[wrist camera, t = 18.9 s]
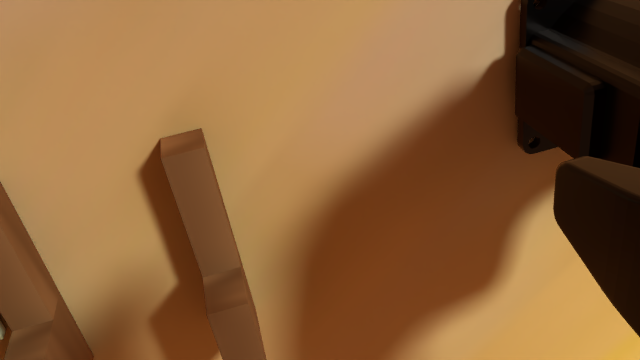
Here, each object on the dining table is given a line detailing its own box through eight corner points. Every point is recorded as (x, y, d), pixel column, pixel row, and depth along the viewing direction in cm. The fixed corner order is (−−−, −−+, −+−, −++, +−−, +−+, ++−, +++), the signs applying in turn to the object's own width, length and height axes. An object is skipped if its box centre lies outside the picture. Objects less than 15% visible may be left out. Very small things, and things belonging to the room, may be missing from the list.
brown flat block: (201, 128, 20) (209, 177, 17) (255, 308, 24) (269, 373, 21) (-46, 190, 19) (-84, 254, 16) (58, 366, 23) (43, 442, 20)
